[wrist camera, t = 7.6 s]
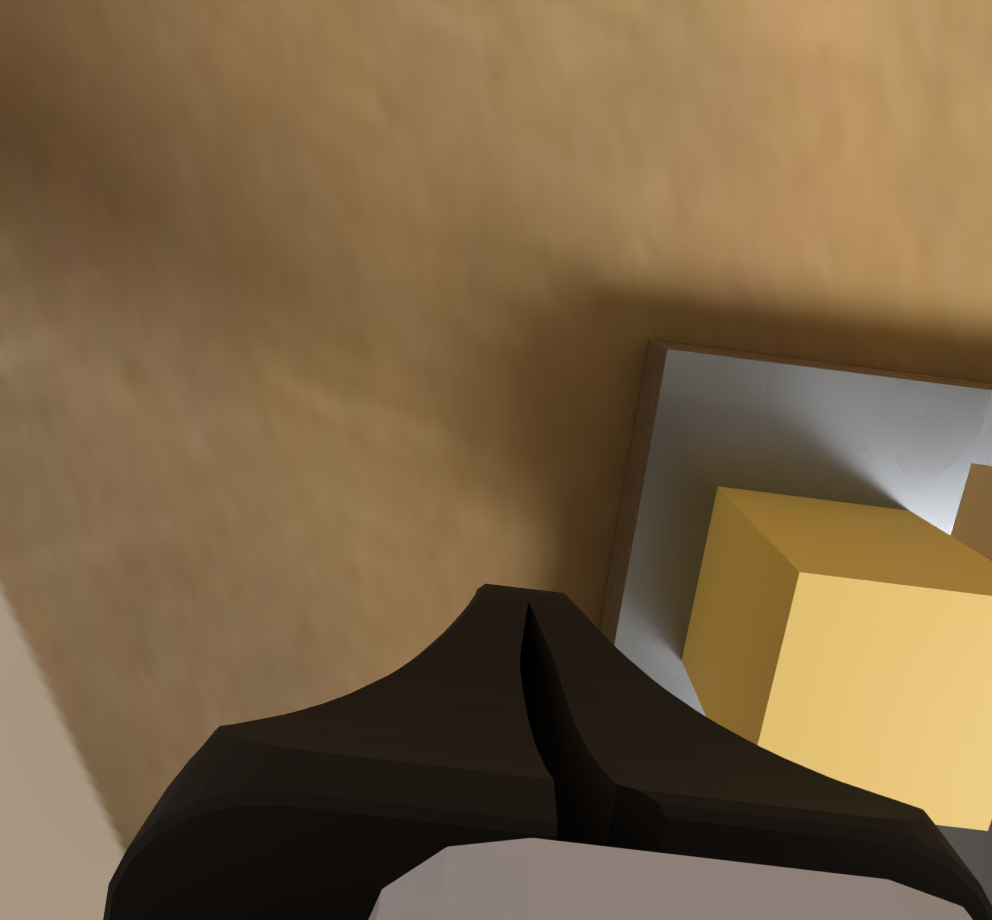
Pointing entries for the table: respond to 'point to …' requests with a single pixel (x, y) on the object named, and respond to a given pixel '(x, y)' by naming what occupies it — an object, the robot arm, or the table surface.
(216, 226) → the table surface
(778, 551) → the block
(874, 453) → the flange plate
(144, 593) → the table surface
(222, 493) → the table surface
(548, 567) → the table surface
